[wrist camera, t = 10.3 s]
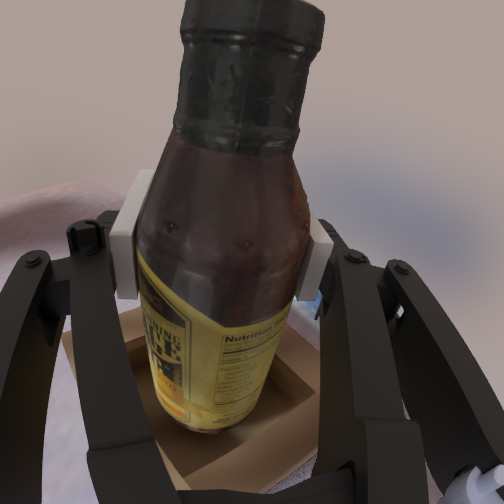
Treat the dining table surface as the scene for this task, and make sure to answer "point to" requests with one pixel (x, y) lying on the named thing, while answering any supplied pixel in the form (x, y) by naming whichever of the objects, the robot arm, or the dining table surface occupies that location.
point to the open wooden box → (245, 433)
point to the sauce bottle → (227, 209)
